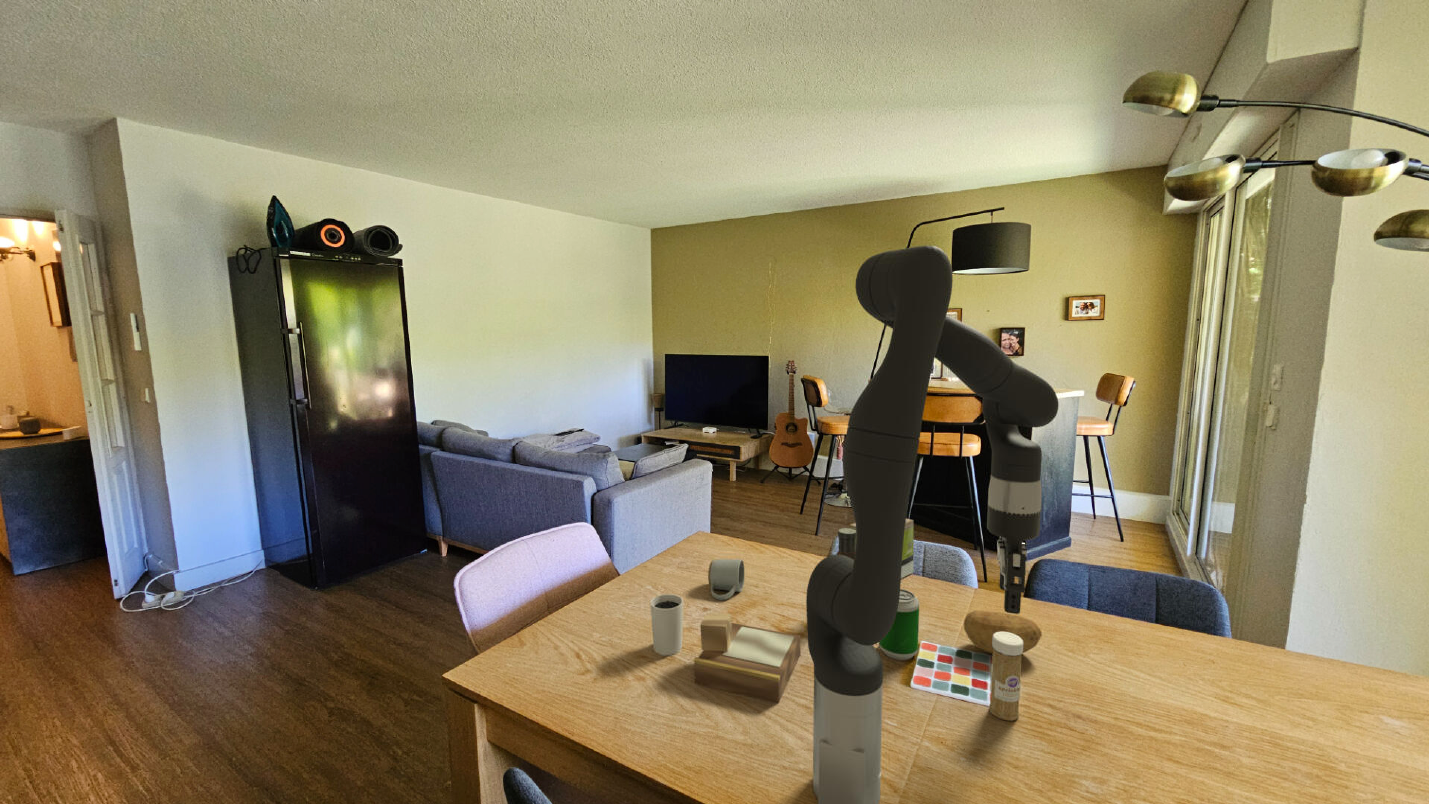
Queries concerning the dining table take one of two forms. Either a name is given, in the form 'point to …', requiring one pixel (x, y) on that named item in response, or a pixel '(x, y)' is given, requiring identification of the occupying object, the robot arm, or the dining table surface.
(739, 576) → the ceramic mug
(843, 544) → the sauce bottle
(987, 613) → the potato
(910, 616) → the soda can
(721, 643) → the wooden cube
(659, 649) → the white cup
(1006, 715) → the sprinkles bottle
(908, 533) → the tea box
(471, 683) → the dining table surface
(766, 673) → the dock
